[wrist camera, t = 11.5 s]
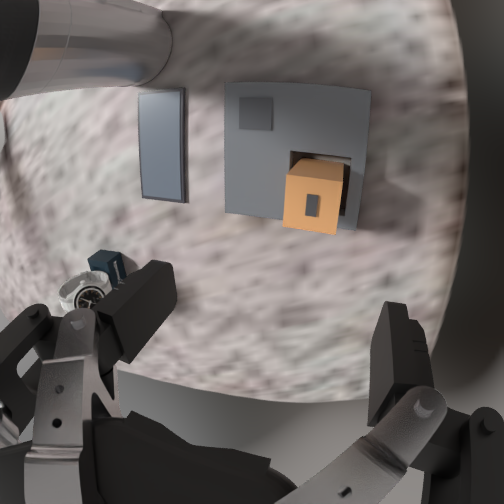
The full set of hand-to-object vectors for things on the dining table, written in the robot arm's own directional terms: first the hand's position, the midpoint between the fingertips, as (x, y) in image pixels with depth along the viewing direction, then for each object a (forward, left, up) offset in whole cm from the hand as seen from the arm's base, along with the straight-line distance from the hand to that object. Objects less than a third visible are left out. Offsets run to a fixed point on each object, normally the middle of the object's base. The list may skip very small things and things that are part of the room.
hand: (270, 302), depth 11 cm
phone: (-2, -17, -21) cm, 27 cm away
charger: (0, 0, -20) cm, 20 cm away
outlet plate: (-2, -2, -20) cm, 20 cm away
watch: (+16, -28, -20) cm, 38 cm away
